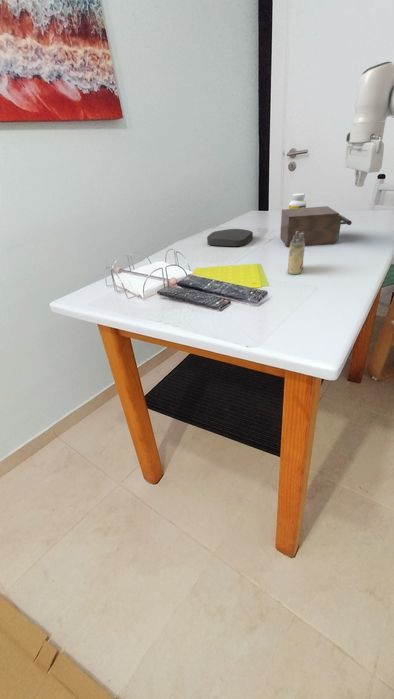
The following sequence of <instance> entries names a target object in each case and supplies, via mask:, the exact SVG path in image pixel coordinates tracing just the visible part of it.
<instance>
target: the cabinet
mask: <svg viewBox="0 0 394 699" xmlns="http://www.w3.org/2000/svg"><path fill="white" fill-rule="evenodd" d="M339 214H340V213H339V212H338V211H336V210H335V209H333V208H331V207H329V205H328V206H326V205H325V206H324V205H323V206H311V207H306V208H297V209H289V208H284V209H281V220H280V235H279V237H280V239H281V241H282V242H283V244H284V246H286V248H289V247H290V243H291V241H292V240H293V236H294V235H295V234H296V231H299V233H301V232H304V239H305V241H304V243H305V247H309V246H310V247H312V246H325V245H335V244H336V241H335V239H336V232H337V225H338V218H339ZM298 236H299V235H298Z"/></svg>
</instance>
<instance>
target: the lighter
mask: <svg viewBox="0 0 394 699" xmlns="http://www.w3.org/2000/svg"><path fill="white" fill-rule="evenodd" d="M298 235H299V236H298ZM304 241H305V239H304V232H301V233H299V231H296V234H295V235H294V236H293V240H292V241H291V243H290V247H288V261H287V271H286V272H287V274H289V275H299V274H301V272H302V270H303V269H304V258H305V257H304V256H305V248H306V246H305V243H304Z"/></svg>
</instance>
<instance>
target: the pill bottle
mask: <svg viewBox="0 0 394 699" xmlns="http://www.w3.org/2000/svg"><path fill="white" fill-rule="evenodd" d="M291 195H292V196H291V199H292V200H291V201H289V204H288V209H297V208H307V202H306V200H305V197H306V194H305V193H303V192H297V193H292V194H291Z"/></svg>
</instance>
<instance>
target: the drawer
mask: <svg viewBox="0 0 394 699" xmlns="http://www.w3.org/2000/svg"><path fill="white" fill-rule="evenodd" d="M352 223H353V222H352V220H350V219H349V218H347V217H345V216H343V215H342V214H340V213H339V218H338V225H337V232H336V239H335V242H338V241H339V240H340V239H339V238H340V232H341V227H342V226H341V225H347V226H350V225H352Z"/></svg>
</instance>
